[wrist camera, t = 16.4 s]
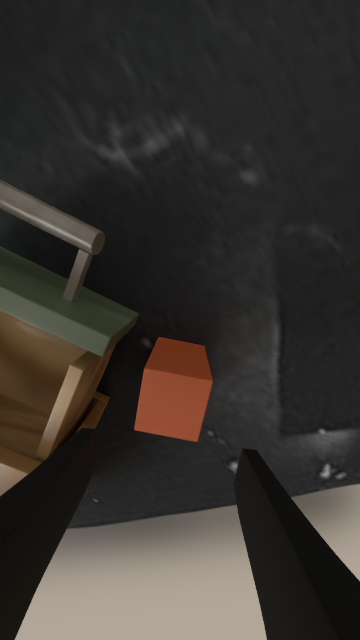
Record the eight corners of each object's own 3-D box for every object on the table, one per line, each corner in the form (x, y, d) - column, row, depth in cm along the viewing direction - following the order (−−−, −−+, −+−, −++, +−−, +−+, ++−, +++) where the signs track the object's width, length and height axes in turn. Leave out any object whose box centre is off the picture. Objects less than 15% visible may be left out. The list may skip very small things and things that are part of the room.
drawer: (-5, 177, 14) (-154, 101, 8) (163, 262, 15) (146, 254, 9) (-48, 368, 18) (-172, 418, 12) (88, 427, 19) (40, 501, 13)
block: (158, 336, 17) (143, 368, 11) (204, 345, 17) (213, 381, 12) (150, 380, 18) (133, 430, 12) (194, 389, 18) (197, 442, 13)
